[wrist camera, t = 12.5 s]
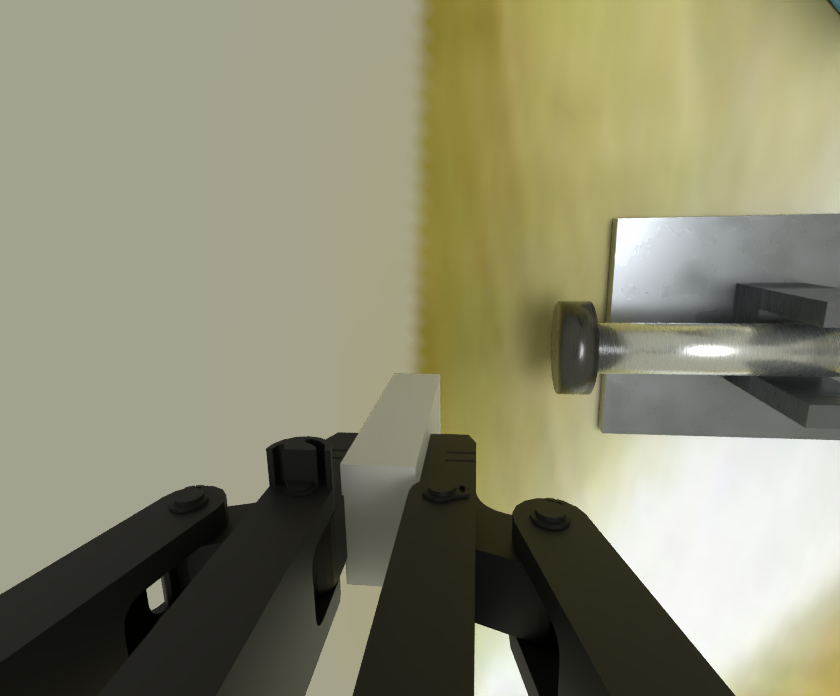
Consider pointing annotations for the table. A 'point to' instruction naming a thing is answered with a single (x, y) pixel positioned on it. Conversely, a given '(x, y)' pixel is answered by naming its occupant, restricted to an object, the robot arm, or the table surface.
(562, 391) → the shaft
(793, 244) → the bolt fixture plate
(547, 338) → the table surface
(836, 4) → the ink box
